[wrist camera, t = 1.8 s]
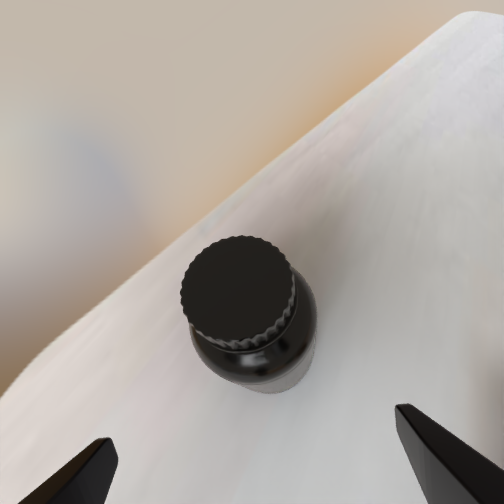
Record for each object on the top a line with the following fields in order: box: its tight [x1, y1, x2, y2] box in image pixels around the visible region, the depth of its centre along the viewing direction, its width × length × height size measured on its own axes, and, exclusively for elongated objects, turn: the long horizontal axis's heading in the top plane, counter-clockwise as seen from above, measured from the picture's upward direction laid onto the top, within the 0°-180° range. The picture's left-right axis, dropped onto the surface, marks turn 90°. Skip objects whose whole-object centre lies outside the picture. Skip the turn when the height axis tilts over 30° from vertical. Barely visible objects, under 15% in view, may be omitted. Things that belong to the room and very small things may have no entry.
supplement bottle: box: [180, 235, 317, 394], centre depth 16 cm, size 7×7×12 cm
